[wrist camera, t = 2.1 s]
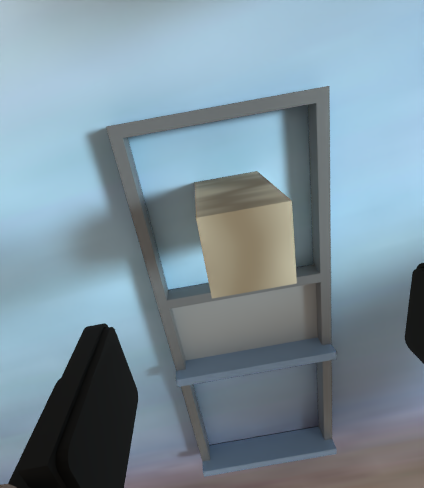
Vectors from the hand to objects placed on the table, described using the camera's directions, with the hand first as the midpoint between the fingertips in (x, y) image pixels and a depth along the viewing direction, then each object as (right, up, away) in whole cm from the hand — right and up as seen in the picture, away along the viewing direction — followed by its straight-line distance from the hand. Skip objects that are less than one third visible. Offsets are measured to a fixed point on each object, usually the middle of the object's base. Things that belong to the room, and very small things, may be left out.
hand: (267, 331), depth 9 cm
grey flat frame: (+1, -4, +17) cm, 17 cm away
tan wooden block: (0, +5, +13) cm, 14 cm away
